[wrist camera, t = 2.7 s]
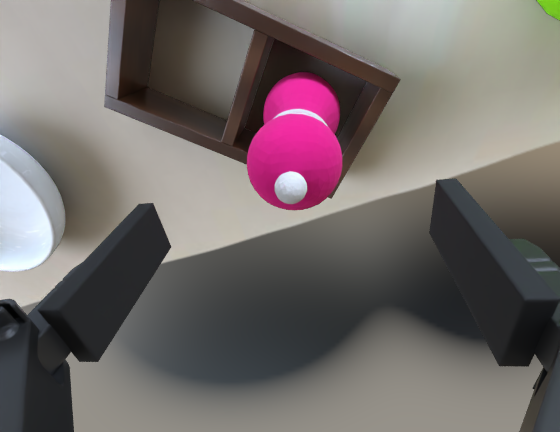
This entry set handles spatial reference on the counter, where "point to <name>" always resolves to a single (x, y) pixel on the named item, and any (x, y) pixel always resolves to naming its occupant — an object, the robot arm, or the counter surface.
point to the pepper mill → (297, 143)
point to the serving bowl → (27, 210)
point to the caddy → (232, 134)
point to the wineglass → (551, 7)
